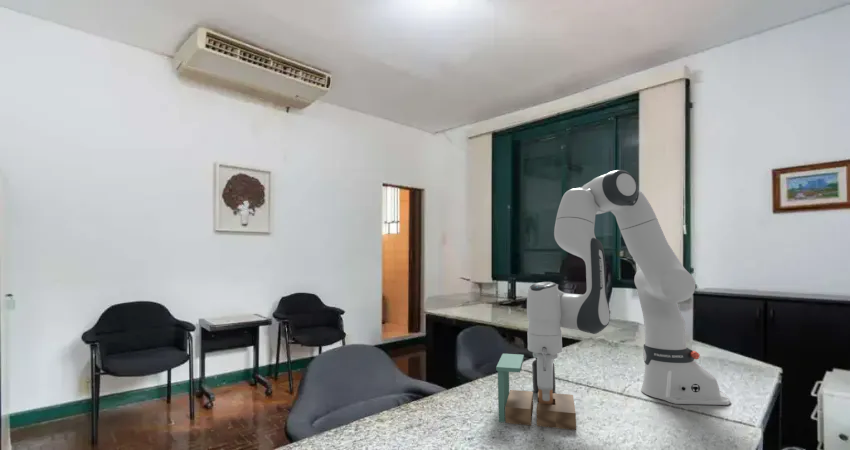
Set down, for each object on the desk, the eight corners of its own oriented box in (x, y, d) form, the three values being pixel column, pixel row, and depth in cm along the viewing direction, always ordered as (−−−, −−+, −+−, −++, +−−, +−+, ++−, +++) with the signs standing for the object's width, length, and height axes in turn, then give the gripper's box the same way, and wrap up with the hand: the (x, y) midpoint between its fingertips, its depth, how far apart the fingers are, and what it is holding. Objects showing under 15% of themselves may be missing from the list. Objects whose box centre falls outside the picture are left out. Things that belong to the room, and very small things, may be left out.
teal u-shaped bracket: (525, 404, 121) (523, 354, 122) (521, 425, 107) (520, 368, 108) (503, 402, 123) (502, 353, 124) (497, 422, 108) (496, 366, 109)
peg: (553, 409, 114) (552, 370, 114) (553, 414, 110) (552, 374, 111) (539, 407, 115) (538, 369, 115) (538, 412, 111) (537, 373, 112)
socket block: (573, 409, 117) (572, 394, 117) (576, 430, 104) (575, 413, 104) (510, 404, 122) (510, 389, 122) (505, 422, 108) (505, 406, 109)
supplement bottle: (556, 389, 135) (554, 350, 135) (555, 395, 128) (553, 355, 129) (533, 387, 137) (532, 349, 138) (531, 393, 131) (530, 353, 131)
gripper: (557, 353, 103) (559, 412, 102) (556, 337, 122) (558, 386, 121) (530, 352, 104) (532, 409, 104) (533, 336, 124) (535, 384, 123)
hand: (546, 396), depth 113 cm, fingers closed on peg, 4 cm apart
